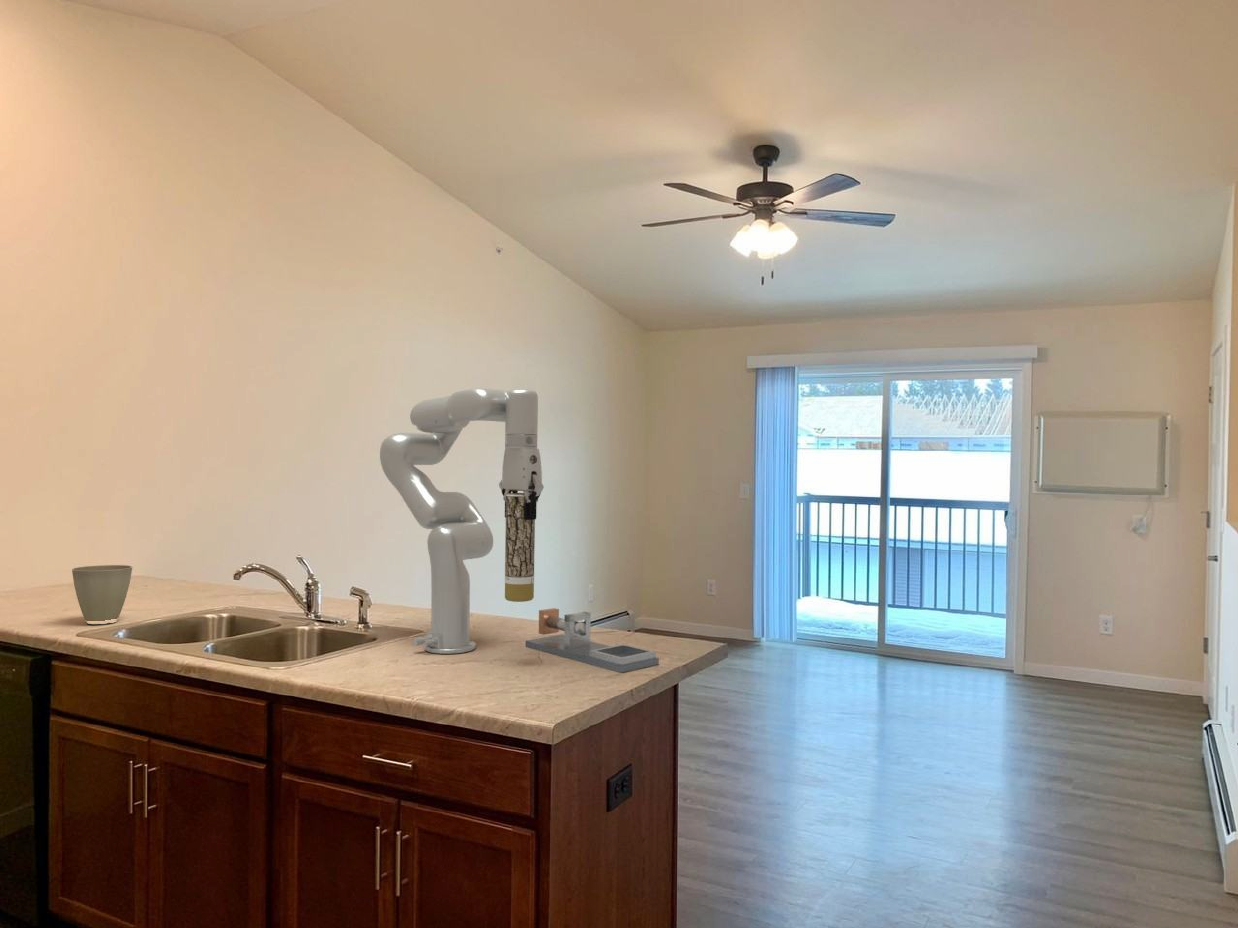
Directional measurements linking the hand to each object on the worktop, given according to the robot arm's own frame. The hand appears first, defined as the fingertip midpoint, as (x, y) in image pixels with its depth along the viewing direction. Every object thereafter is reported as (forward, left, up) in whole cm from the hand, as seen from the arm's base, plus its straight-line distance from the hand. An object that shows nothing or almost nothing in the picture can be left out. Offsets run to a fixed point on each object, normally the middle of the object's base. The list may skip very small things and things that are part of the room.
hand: (520, 518), depth 200 cm
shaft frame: (+18, -4, -34) cm, 39 cm away
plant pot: (-61, +118, -34) cm, 137 cm away
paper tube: (0, 0, -19) cm, 19 cm away
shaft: (+18, +6, -31) cm, 36 cm away
